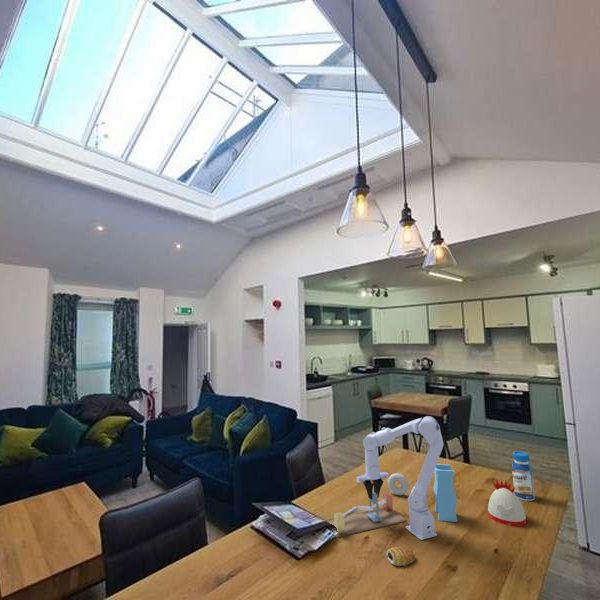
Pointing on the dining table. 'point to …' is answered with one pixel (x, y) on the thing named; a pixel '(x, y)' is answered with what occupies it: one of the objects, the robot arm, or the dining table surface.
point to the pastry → (400, 556)
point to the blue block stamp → (374, 516)
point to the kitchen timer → (506, 506)
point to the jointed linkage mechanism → (340, 517)
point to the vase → (445, 493)
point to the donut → (400, 478)
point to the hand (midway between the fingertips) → (373, 497)
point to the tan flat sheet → (368, 521)
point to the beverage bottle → (522, 476)
